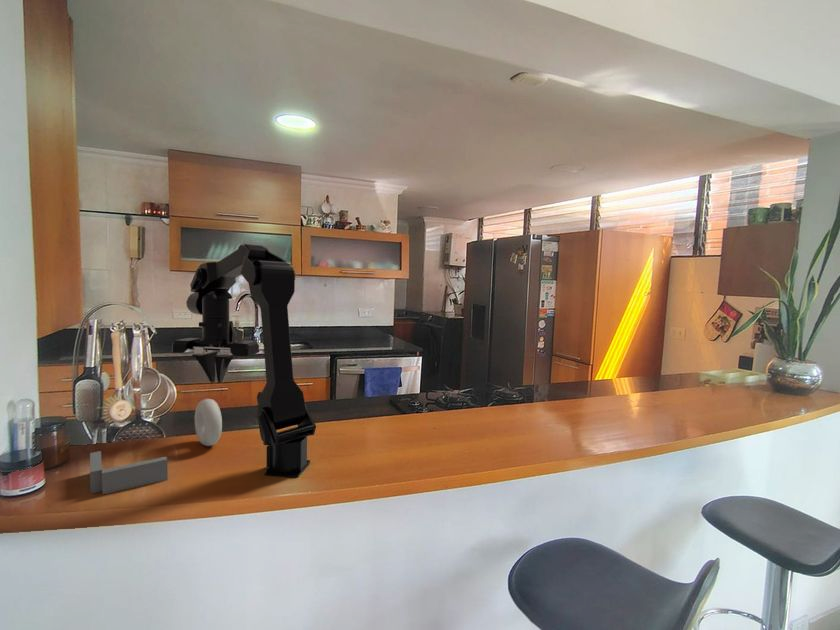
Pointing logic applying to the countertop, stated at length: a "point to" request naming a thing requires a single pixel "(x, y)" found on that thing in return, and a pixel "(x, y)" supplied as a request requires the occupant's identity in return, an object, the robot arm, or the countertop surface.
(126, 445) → the countertop surface
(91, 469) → the grey l-shaped bracket
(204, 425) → the donut
